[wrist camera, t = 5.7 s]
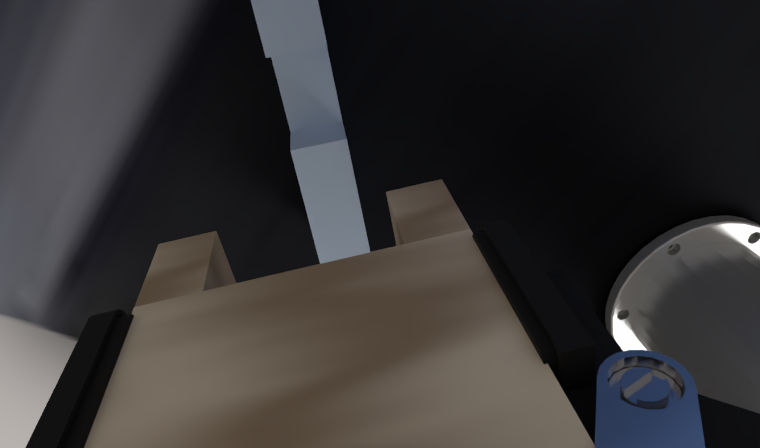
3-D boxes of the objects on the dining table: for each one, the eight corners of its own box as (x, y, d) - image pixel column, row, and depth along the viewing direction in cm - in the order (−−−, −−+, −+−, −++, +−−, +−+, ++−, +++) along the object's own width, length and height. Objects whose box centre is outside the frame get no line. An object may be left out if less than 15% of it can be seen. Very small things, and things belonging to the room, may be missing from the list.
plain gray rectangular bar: (362, 218, 34) (372, 263, 29) (318, 227, 33) (322, 274, 29) (287, -139, 25) (286, -150, 20) (228, -127, 25) (214, -136, 20)
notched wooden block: (441, 178, 14) (640, 525, 6) (453, 265, 15) (630, 643, 7) (159, 244, 14) (-15, 691, 6) (195, 326, 15) (93, 783, 7)
